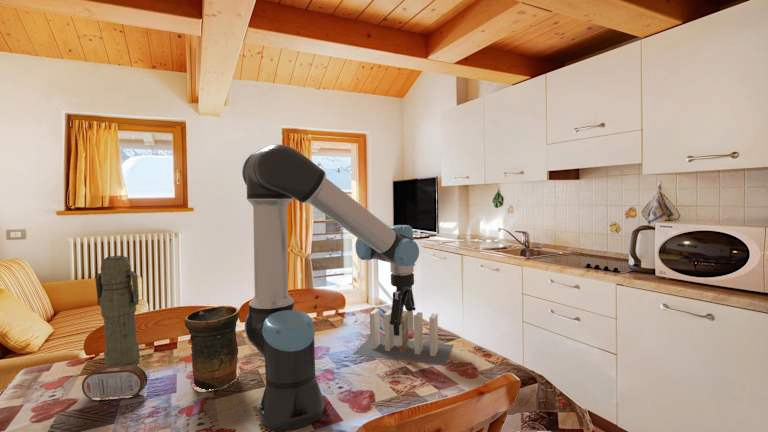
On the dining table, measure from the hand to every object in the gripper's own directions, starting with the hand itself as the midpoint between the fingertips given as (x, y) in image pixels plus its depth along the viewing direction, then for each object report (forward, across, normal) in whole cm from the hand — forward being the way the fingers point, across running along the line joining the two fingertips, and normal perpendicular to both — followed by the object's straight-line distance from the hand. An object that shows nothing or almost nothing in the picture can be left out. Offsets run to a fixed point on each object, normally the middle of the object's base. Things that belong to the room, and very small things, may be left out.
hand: (403, 336), depth 130 cm
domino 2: (+4, 0, +5) cm, 7 cm away
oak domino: (+4, 0, 0) cm, 4 cm away
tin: (+5, -50, +65) cm, 82 cm away
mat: (+5, 0, 0) cm, 5 cm away
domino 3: (+4, 0, -5) cm, 7 cm away
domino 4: (+4, 0, -10) cm, 11 cm away
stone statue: (+5, -36, +80) cm, 88 cm away
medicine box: (+5, +16, +11) cm, 20 cm away
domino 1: (+4, 0, +10) cm, 11 cm away
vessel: (+5, -34, +46) cm, 57 cm away
